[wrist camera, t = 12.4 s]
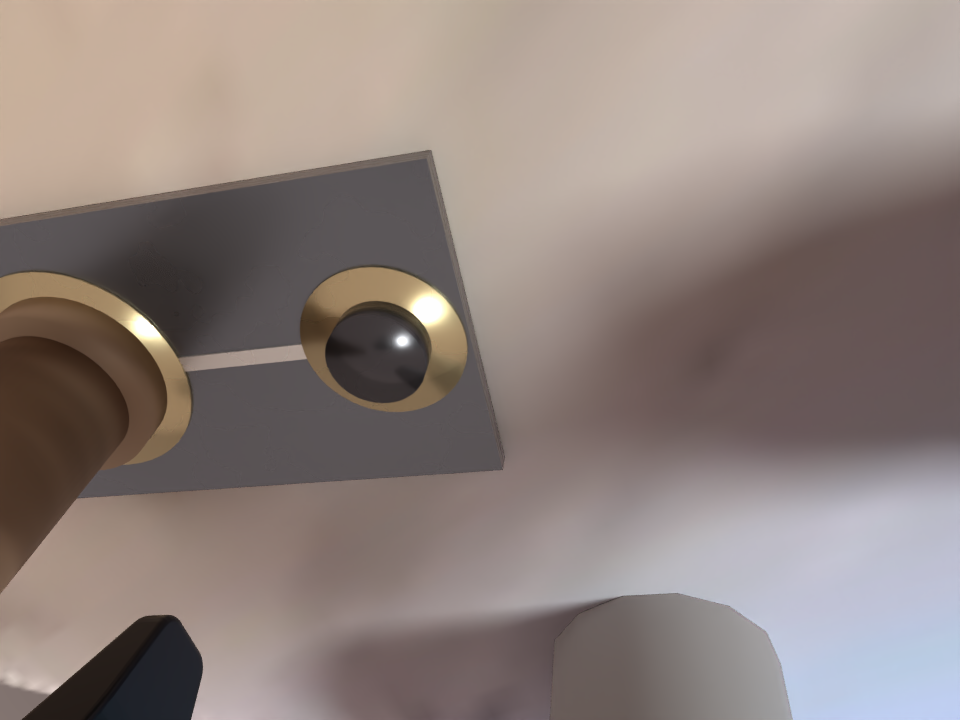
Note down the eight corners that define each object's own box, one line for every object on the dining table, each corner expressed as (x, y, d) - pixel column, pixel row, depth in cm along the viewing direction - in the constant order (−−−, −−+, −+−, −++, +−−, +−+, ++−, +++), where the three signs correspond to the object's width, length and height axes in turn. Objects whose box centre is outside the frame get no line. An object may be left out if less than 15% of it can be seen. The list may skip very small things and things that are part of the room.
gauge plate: (431, 150, 19) (418, 173, 18) (504, 457, 25) (499, 492, 23) (-120, 238, 23) (-164, 263, 22) (46, 489, 28) (19, 521, 27)
